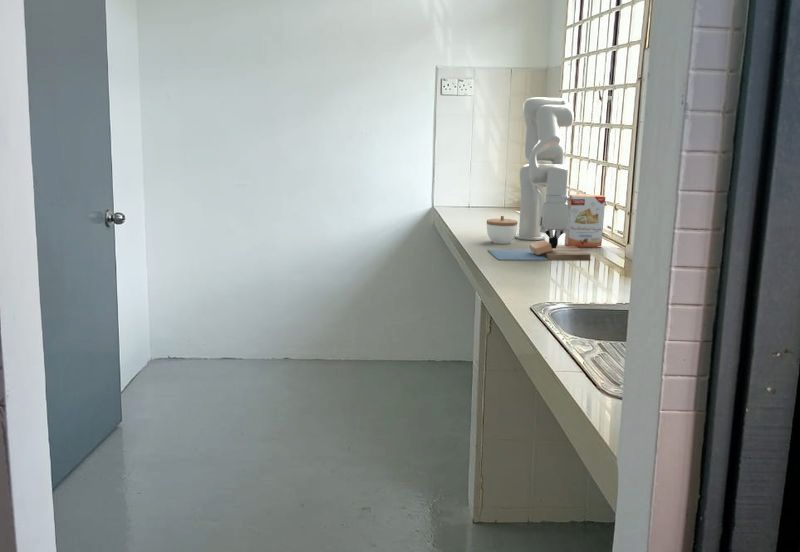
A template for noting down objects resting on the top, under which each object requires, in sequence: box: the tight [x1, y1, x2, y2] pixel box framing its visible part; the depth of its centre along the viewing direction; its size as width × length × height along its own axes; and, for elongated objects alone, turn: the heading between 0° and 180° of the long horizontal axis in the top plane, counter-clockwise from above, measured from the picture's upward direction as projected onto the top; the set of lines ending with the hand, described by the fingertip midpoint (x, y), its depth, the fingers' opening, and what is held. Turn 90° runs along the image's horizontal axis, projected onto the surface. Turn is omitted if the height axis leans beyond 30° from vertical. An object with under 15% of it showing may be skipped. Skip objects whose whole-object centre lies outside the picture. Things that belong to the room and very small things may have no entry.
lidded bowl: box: [486, 215, 518, 245], centre depth 331 cm, size 13×13×11 cm
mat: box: [487, 249, 549, 261], centre depth 303 cm, size 20×18×1 cm
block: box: [529, 239, 552, 255], centre depth 303 cm, size 9×6×2 cm, turn 6°
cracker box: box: [564, 194, 606, 248], centre depth 324 cm, size 14×6×21 cm, turn 92°
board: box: [541, 245, 591, 261], centre depth 304 cm, size 18×16×2 cm
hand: (553, 247), depth 303 cm, fingers closed
